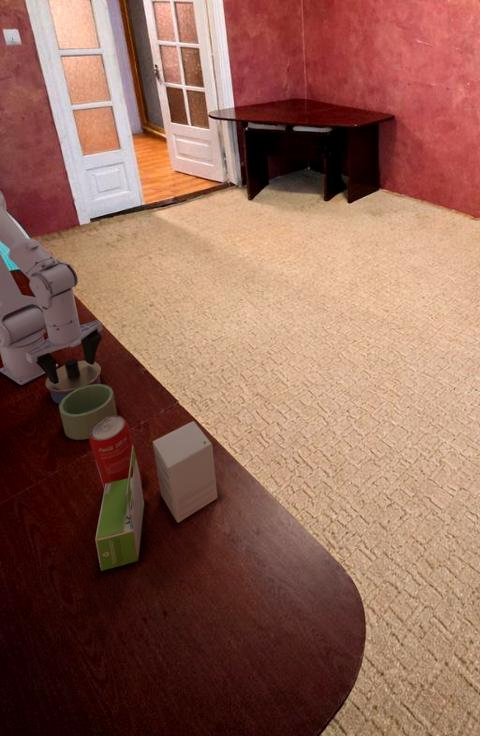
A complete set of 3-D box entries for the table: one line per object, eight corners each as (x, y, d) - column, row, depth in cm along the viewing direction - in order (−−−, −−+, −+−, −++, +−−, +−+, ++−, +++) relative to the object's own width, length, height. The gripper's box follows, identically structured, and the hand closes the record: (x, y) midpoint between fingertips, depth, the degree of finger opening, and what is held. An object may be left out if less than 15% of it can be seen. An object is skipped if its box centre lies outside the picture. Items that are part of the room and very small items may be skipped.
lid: (36, 384, 105) (32, 366, 103) (84, 359, 113) (80, 342, 112) (63, 401, 100) (59, 383, 99) (111, 374, 109) (108, 357, 107)
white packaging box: (200, 472, 90) (195, 418, 86) (218, 498, 85) (213, 443, 81) (159, 495, 85) (151, 440, 81) (176, 525, 80) (168, 468, 76)
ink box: (110, 513, 81) (98, 449, 77) (145, 503, 83) (135, 441, 78) (100, 573, 72) (85, 505, 68) (140, 561, 74) (128, 494, 70)
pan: (42, 394, 106) (39, 381, 105) (85, 371, 114) (82, 359, 112) (67, 410, 102) (64, 397, 101) (109, 385, 110) (107, 372, 108)
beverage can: (149, 477, 88) (139, 412, 83) (127, 509, 82) (114, 441, 77) (118, 472, 89) (106, 408, 83) (94, 504, 83) (79, 437, 77)
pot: (54, 427, 97) (49, 404, 95) (99, 400, 105) (95, 378, 103) (82, 446, 94) (76, 422, 92) (126, 417, 101) (122, 394, 99)
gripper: (34, 342, 94) (47, 398, 98) (107, 309, 106) (115, 360, 111) (14, 331, 97) (28, 385, 101) (87, 300, 109) (97, 350, 113)
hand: (72, 372), depth 106 cm, fingers open, 7 cm apart
